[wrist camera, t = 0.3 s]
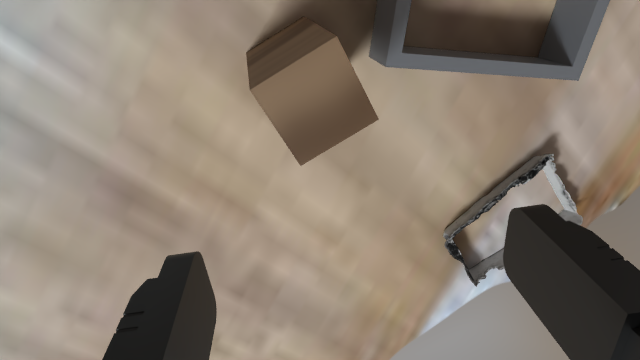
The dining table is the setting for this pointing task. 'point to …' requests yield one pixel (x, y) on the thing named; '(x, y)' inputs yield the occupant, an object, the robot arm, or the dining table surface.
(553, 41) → the box
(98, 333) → the dining table surface
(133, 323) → the robot arm
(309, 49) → the walnut block
